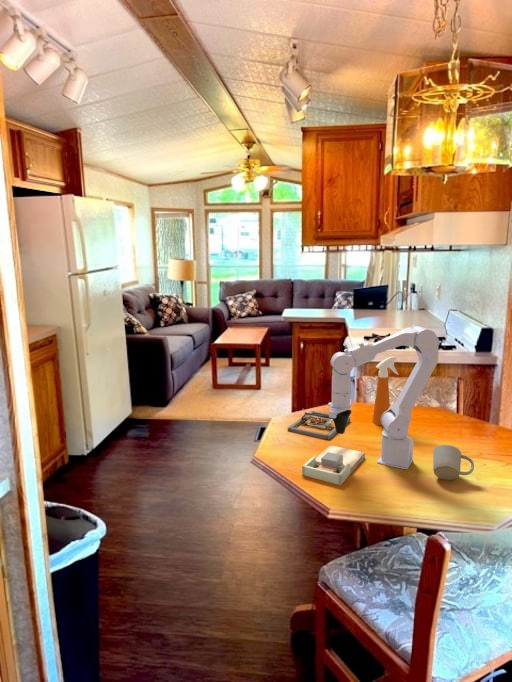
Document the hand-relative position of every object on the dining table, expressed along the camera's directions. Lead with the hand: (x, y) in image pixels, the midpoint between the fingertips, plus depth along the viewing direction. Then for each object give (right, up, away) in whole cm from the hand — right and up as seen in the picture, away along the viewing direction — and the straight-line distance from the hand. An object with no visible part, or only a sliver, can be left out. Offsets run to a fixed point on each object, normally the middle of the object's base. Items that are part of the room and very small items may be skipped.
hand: (340, 432), depth 150 cm
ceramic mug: (+31, -12, -9) cm, 35 cm away
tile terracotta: (-6, -12, -8) cm, 15 cm away
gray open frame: (-2, -4, +32) cm, 32 cm away
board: (0, -10, +2) cm, 10 cm away
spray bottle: (+24, -3, +37) cm, 44 cm away
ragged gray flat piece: (-3, -4, +32) cm, 33 cm away
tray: (-6, -12, -7) cm, 15 cm away
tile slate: (-3, -9, -4) cm, 10 cm away
